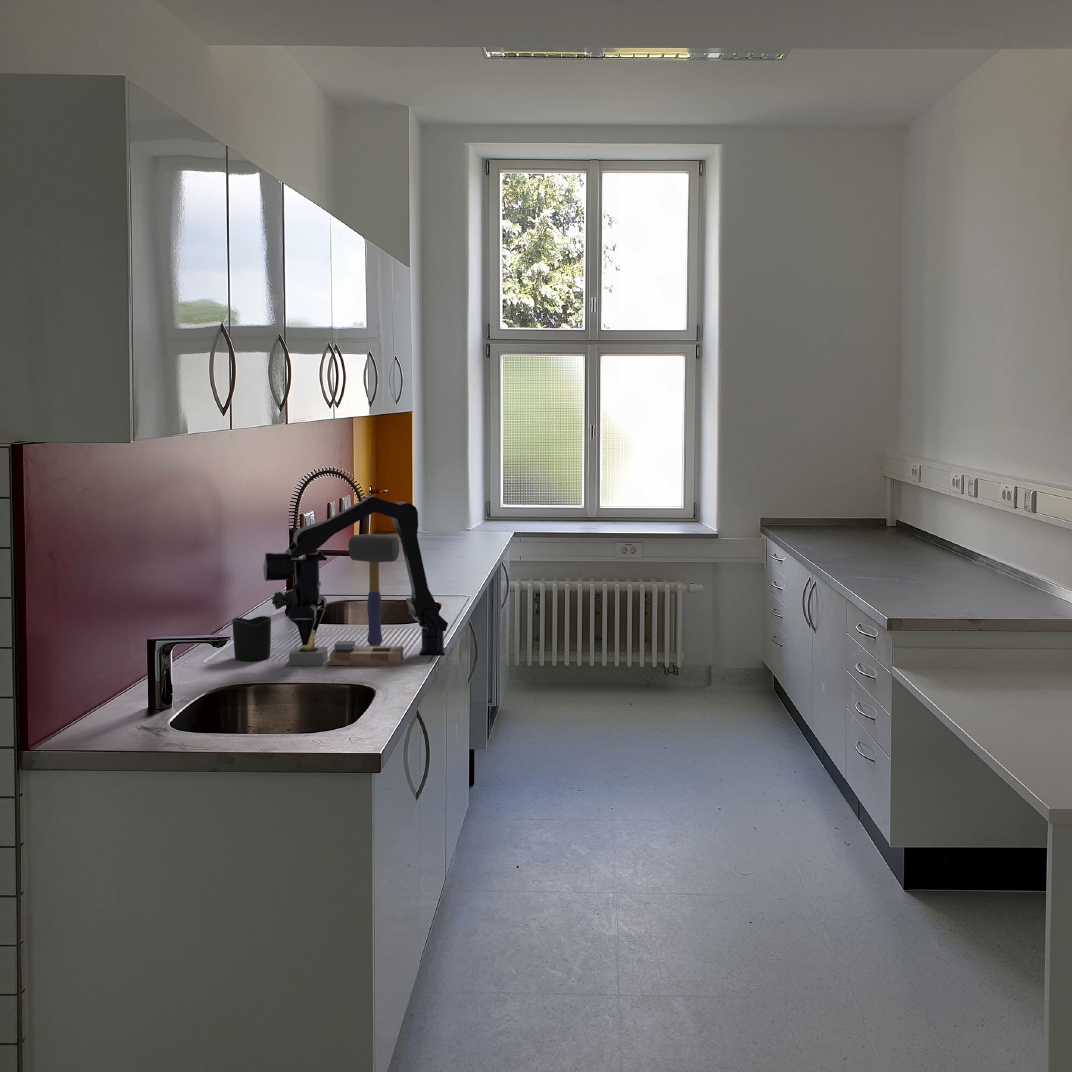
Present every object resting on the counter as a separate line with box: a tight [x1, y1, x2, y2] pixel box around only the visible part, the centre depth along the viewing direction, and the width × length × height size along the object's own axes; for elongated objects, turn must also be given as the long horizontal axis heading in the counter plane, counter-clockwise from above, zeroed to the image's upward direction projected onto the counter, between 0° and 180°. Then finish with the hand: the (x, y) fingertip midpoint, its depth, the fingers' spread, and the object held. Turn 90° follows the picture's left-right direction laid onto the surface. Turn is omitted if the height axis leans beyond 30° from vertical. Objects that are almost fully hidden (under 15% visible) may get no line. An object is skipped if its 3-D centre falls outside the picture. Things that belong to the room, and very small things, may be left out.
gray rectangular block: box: [334, 640, 356, 651], centre depth 264 cm, size 4×4×5 cm
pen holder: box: [231, 615, 272, 662], centre depth 268 cm, size 9×9×10 cm
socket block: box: [329, 645, 404, 667], centre depth 264 cm, size 9×17×3 cm, turn 92°
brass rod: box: [302, 629, 316, 652], centre depth 263 cm, size 3×3×8 cm
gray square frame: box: [288, 646, 329, 666], centre depth 264 cm, size 8×8×3 cm
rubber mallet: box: [347, 533, 400, 646], centre depth 283 cm, size 12×8×30 cm, turn 78°
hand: (308, 641), depth 263 cm, fingers open, 9 cm apart
